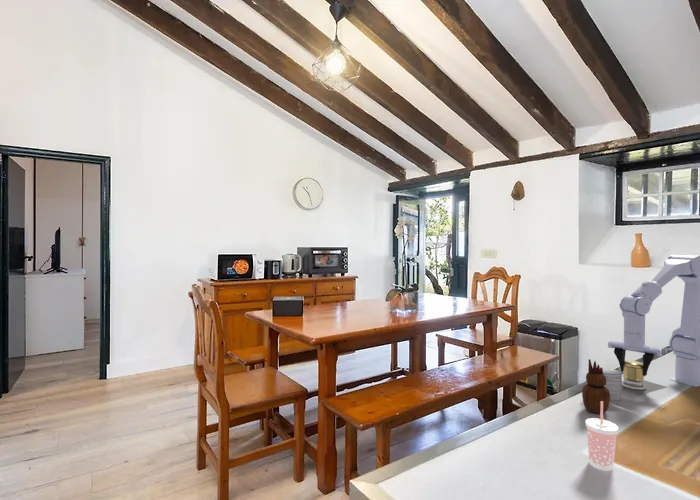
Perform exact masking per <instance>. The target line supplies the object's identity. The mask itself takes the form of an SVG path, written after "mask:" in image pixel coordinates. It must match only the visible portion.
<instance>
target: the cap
mask: <svg viewBox="0 0 700 500" xmlns="http://www.w3.org/2000/svg"><path fill="white" fill-rule="evenodd" d="M622 378H623V379H624V378H626V379H629V380H633V381H643V380H645V376H643V362H641V361H640V362H639V361H635V360H634V361H633V360H625V361H624V365H623V373H622Z"/></svg>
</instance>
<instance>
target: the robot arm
mask: <svg viewBox="0 0 700 500" xmlns="http://www.w3.org/2000/svg"><path fill="white" fill-rule="evenodd" d="M663 264H664V265H663V267H662V268H661V269H660V271H659V272H658V273H657V274H656V275H655V277H653V278H652V279H651V280H647V281H643V282H642V283H641V285H640V286H639V287H637V288H636V289H635V290H634V292H632V293H631V294H630V295H626V296H624V297H622V299H621V300H620V302H619V304H618V305H619V309H620V311H621V312H622V314H621V315H622V317H623V341H621V342H620V341H612V340H611V341H610V340H609V341H608V342H607V347H608V348H609V349H613V353H614V355H615V356H616V359H617V361H618V364H619V367H620V371H621V372H623V365H624V361H626V351H629V352H636V353H642V364H643V376H644V377H646V376H647V375H648V371H649V368H650V366H651V363H652V361H653V359H654V358H655V356H657V357H662V355H663V349H661V348H657V347H651V346H648V345H646V315H647V314H649V312H650V311H651V307H652V305H653V303H654V301H656V299H657V298H658V297H659V296H661V294H662V293H663V290H662V289H663V287H665V286H666V285H667V284H668V283H669V282H671V281H672V280H673V279H675V278H676V277H678V279H681V280H682V281H683V283H684V290H683V301H682V307H681V319H680V326H679V327H678V328H676V329H674V330H672V333H671V337H670V339H669V341H668V342H669V343H668V345H669V348H670V350H671V351H672V353H673V355H675V356H674V357H675V359H674V362H675V364H674V366H675V367H674V369H675V370H674V371H675V372H674V377H670V378H669V381H673V382H677V383H681V384H684V385H688V386H692V387H695V388H696V387H697V388H698V387H700V255H679V254H671V255H669V256H668V257H667V258H666V259H665V260H664V263H663Z"/></svg>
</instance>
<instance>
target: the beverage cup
mask: <svg viewBox="0 0 700 500" xmlns="http://www.w3.org/2000/svg"><path fill="white" fill-rule="evenodd" d="M599 414H600V418H596V417H592V418H591V417H590V418H587V419H585V427H586V432H587V453H588V464H589V465H590V466H591V467H593V468H595V469H596V470H599V471H603V472H606V471H607V472H609V471H610V472H611V471H613V470H614V469H615V468H614V467H615V457H616V456H615V455H616V443H617V434H618V433H619V426H618V425H617V424H616V423H614V422H612V421H609V420H606V419H604V413H603V401H601V411H600V413H599Z"/></svg>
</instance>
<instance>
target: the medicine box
mask: <svg viewBox="0 0 700 500" xmlns="http://www.w3.org/2000/svg"><path fill="white" fill-rule="evenodd" d="M602 369H603V374H604V375H605V377H606V385H605V387H606V388H607V389H608V390H609V392H610V400H616V401H617V400H618V401H620V400H621V401H622V391H623V390H622V381H623V373H621V372H620V371H618V370H617V369H615V368H602ZM588 372H589V370H588ZM588 372H587V373H588Z"/></svg>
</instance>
